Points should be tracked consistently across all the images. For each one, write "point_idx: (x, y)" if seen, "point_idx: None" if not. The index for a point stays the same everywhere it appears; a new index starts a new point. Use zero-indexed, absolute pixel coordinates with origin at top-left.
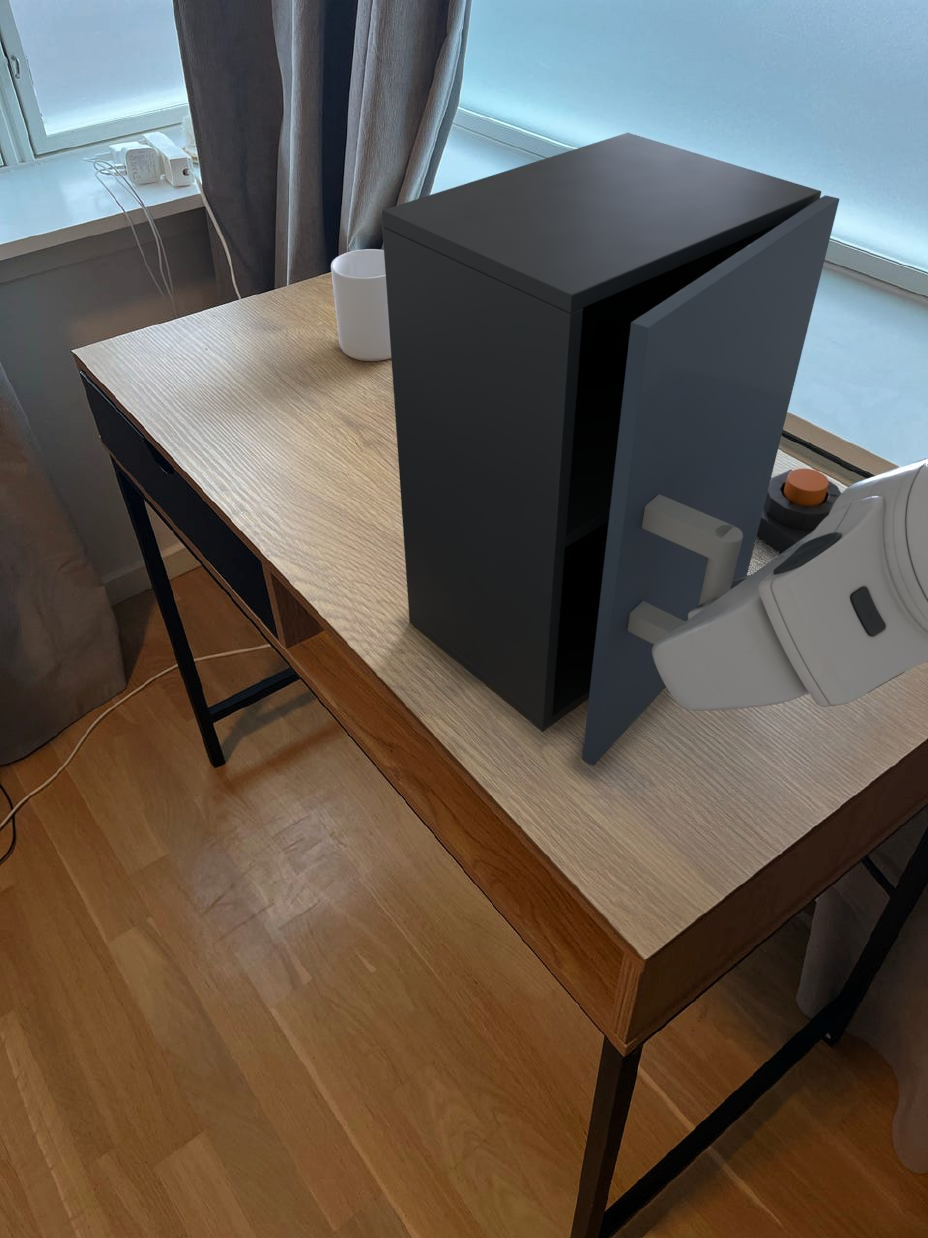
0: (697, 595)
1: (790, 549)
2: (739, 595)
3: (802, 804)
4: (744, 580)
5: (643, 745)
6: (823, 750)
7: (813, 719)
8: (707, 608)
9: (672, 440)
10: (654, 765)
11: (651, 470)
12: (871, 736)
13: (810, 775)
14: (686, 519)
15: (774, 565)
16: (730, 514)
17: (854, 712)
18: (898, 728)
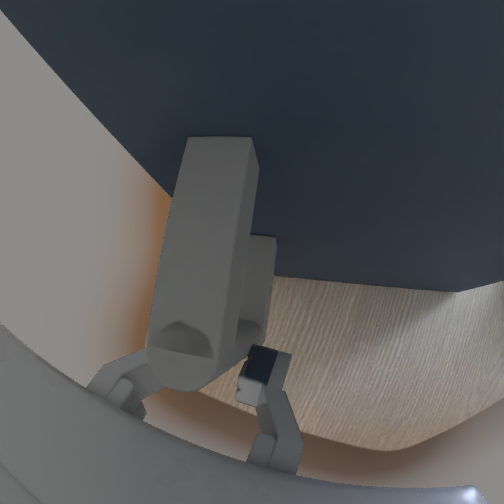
0: (404, 271)
1: (220, 490)
2: (5, 412)
3: (294, 415)
4: (92, 415)
5: (285, 295)
6: (352, 410)
7: (379, 393)
8: (13, 364)
9: (264, 17)
10: (271, 311)
11: (164, 69)
12: (381, 430)
13: (324, 411)
14: (178, 236)
15: (115, 472)
16: (481, 258)
17: (399, 412)
18: (397, 440)
